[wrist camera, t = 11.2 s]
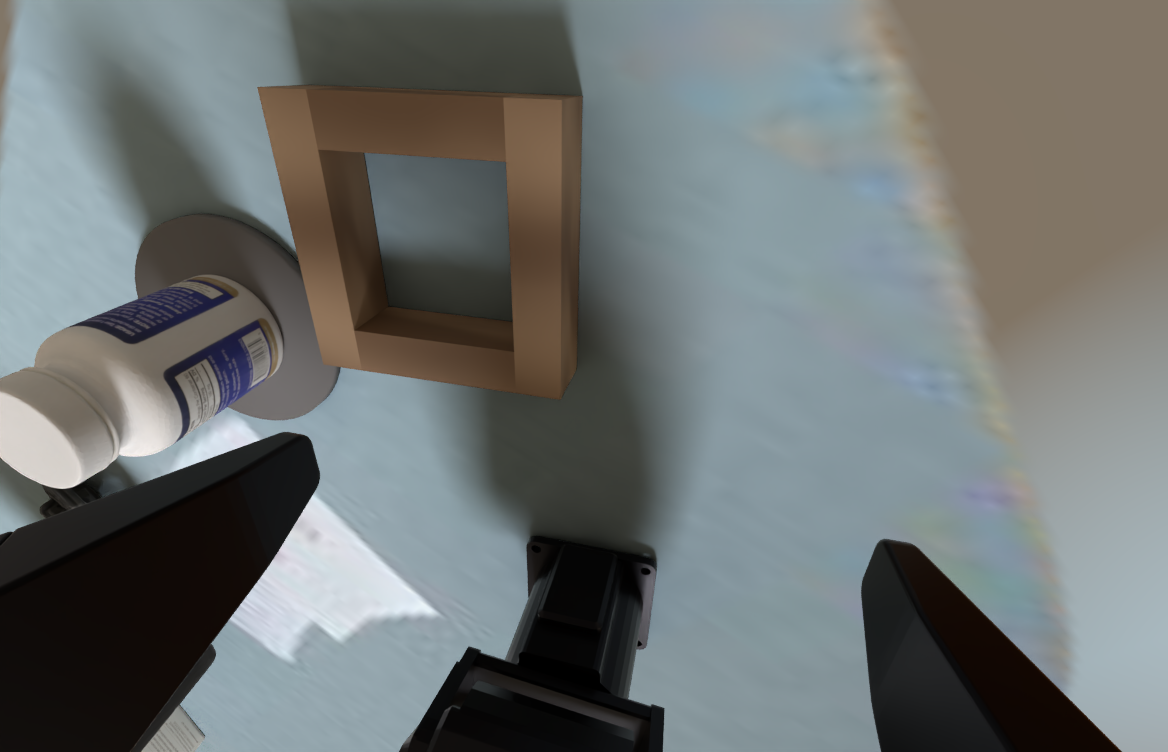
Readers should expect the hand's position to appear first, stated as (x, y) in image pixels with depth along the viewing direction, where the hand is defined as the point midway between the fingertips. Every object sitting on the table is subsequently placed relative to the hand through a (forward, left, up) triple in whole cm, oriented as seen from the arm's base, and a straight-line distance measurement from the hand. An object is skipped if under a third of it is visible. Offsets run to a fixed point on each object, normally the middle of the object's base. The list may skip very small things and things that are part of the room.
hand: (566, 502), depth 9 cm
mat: (-5, +19, -13) cm, 24 cm away
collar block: (0, +8, -13) cm, 15 cm away
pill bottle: (-5, +19, -13) cm, 23 cm away
